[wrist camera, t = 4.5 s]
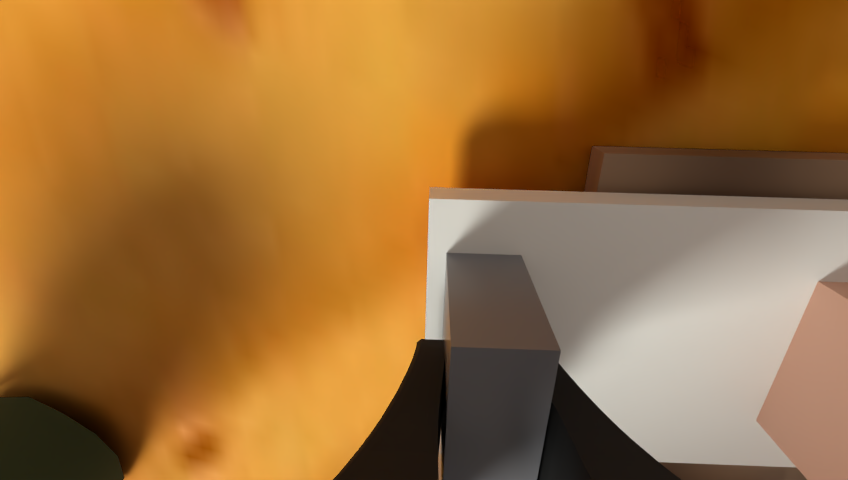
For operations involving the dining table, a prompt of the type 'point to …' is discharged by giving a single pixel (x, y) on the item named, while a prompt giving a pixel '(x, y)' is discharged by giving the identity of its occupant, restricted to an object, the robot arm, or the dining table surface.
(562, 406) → the robot arm
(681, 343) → the white tray
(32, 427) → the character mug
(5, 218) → the dining table surface
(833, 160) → the board
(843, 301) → the block
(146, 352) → the dining table surface
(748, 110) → the dining table surface
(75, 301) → the dining table surface
